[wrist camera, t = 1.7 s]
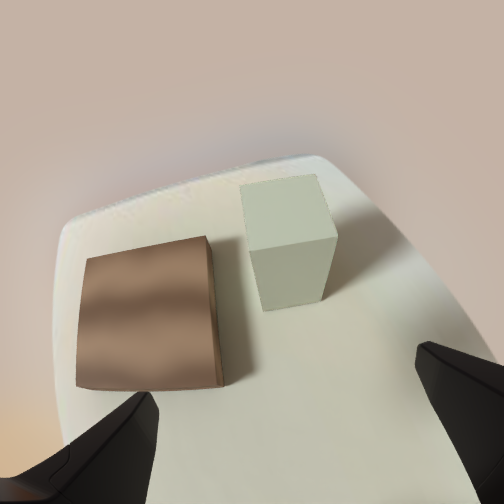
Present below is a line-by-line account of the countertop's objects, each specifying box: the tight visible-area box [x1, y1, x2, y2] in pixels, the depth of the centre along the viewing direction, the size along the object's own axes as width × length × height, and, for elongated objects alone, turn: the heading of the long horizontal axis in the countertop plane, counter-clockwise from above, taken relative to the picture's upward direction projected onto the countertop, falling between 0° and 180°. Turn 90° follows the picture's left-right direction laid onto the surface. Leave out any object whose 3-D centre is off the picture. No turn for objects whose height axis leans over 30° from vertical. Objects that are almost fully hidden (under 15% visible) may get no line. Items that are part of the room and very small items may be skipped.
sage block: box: [240, 174, 338, 312], centre depth 21 cm, size 5×5×10 cm
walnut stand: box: [76, 236, 224, 391], centre depth 24 cm, size 13×13×2 cm
